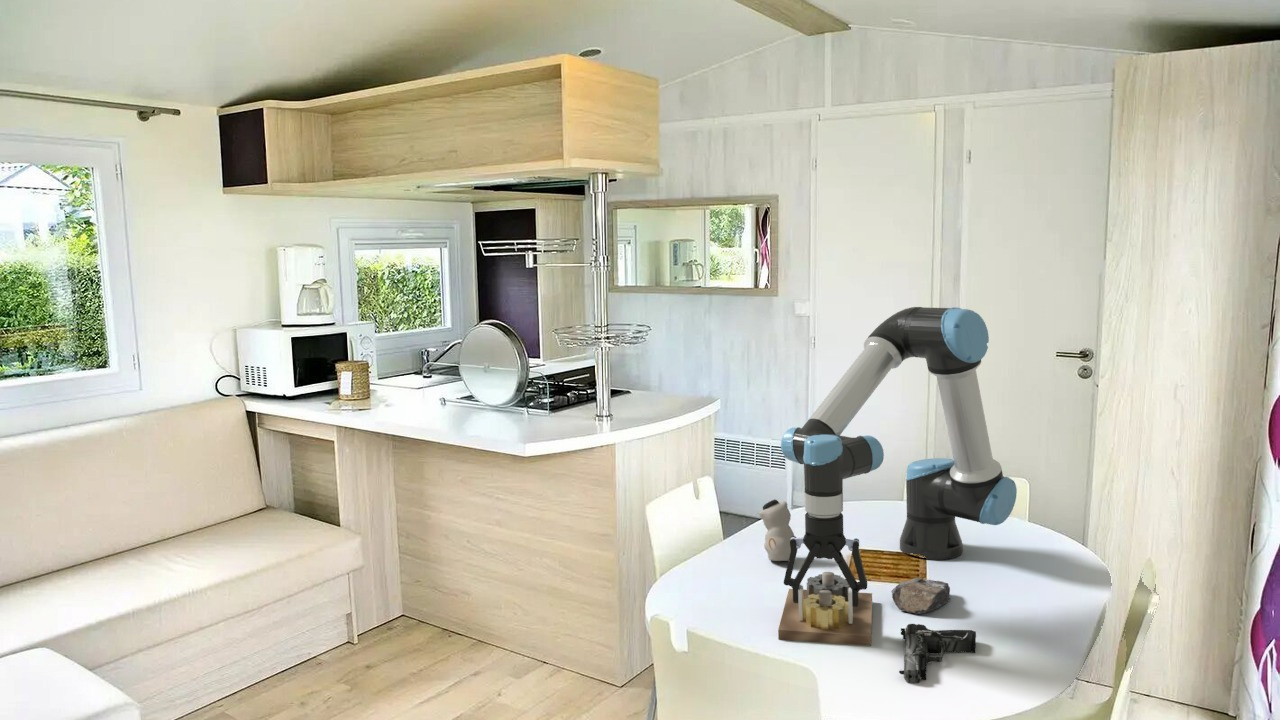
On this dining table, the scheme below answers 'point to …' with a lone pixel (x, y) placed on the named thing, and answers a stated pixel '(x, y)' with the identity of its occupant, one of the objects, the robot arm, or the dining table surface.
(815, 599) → the brass gear
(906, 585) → the rock
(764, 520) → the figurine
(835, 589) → the grey gear
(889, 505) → the dining table surface
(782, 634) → the board
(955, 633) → the handgun
